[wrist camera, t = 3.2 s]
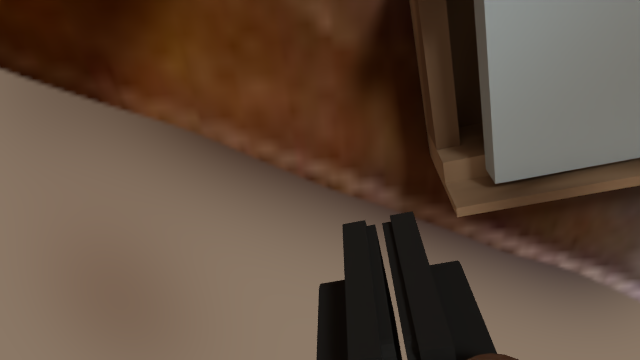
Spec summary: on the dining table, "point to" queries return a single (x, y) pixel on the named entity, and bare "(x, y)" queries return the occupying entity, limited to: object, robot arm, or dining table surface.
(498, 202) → the walnut box
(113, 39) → the dining table surface
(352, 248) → the robot arm
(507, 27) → the cover plate
